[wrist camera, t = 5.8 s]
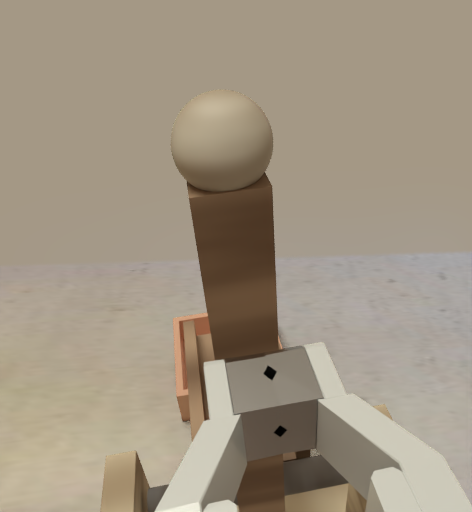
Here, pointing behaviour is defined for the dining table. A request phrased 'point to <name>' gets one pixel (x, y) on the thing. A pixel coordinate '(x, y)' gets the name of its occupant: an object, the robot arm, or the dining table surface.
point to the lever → (236, 273)
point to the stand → (296, 505)
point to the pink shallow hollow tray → (180, 357)
